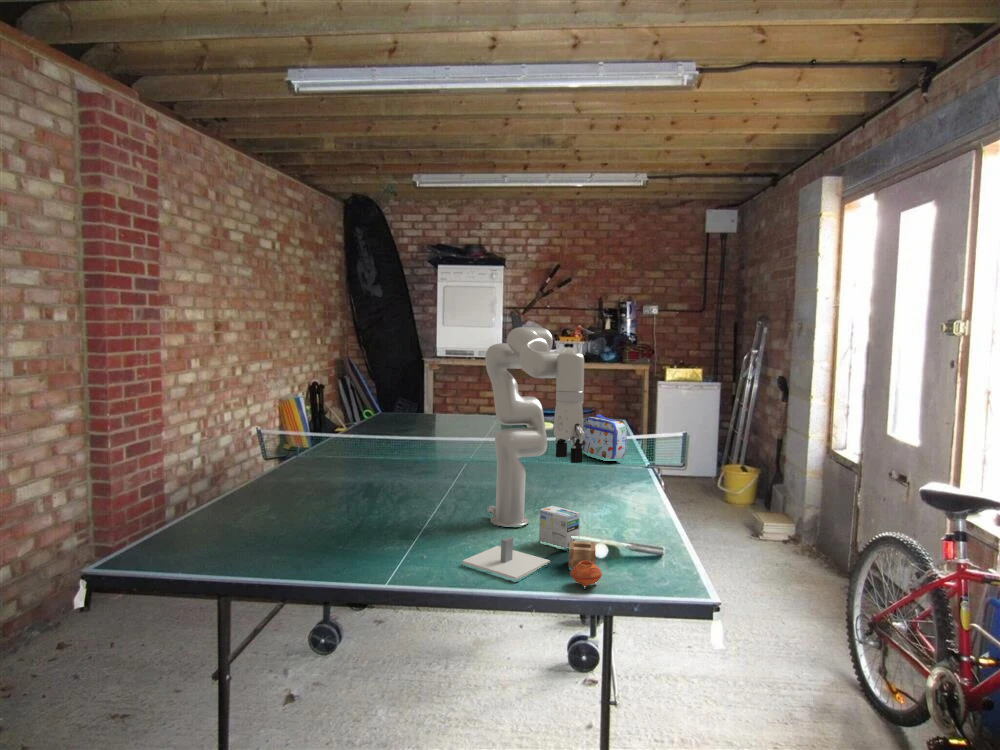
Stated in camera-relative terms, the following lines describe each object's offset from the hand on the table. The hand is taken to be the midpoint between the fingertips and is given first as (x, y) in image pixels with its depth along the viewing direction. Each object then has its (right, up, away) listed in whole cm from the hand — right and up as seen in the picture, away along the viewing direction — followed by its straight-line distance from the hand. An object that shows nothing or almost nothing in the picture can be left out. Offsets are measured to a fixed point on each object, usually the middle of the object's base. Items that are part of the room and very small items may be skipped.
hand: (568, 459), depth 178 cm
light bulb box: (-1, -28, +16) cm, 33 cm away
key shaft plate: (-17, -29, -2) cm, 34 cm away
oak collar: (+3, -29, -1) cm, 29 cm away
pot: (+3, -31, -14) cm, 34 cm away
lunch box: (+32, -19, +147) cm, 152 cm away
